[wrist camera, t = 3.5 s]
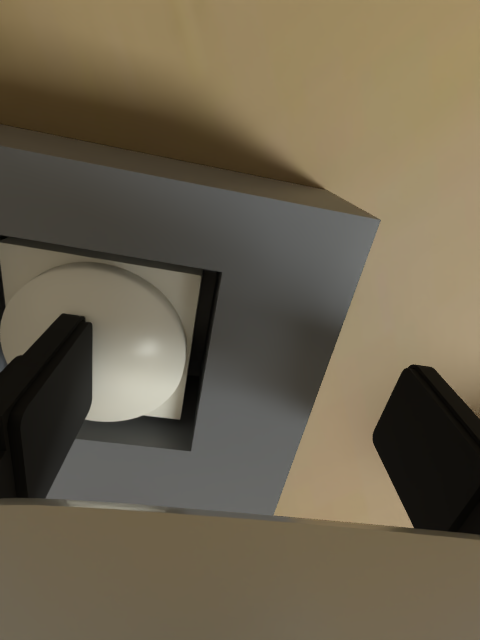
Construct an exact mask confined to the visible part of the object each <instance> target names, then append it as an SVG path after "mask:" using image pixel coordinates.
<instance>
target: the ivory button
mask: <svg viewBox="0 0 480 640" xmlns="http://www.w3.org/2000/svg"><path fill="white" fill-rule="evenodd" d="M0 265H1V273H2V281H3V289H4V298H5V306H6V308H5V310H4V313H3V316H2V319H1V325H0V342H1V347H2V351H3V354H4V357H5V359H6V362H7V364H9V363H10V362H11V361H12V360H13V359H14V358H15V357H17V356H19V355H23V354H24V353H25V352H26V351H27V350H28V349H29V348H30V347H31V346H32V345H33V344H34V342H35V341H36V340H37V339H38V338H39V337H40V336H41V335H42V334H43V333H44V332H45V331H46V330H47V329H48V328H49V326H50V325H51V324H52V323H53V322H54V321H55V320H56V319H57V318H58V317H59V316H60V315H61V314H62V313H65V314H72V315H79V316H84V317H85V318H86V322H91V323H92V328H93V342H92V404H91V407H90V410H89V412H88V414H87V416H86V418H85V420H91V421H101V422H116V421H124V420H129V419H133V418H137V417H140V416H142V415H145V416H153V417H161V418H170V419H178V420H180V418H181V412H182V406H183V400H184V393H185V387H186V381H187V375H188V369H189V362H190V355H191V349H192V342H193V335H194V328H195V322H196V315H197V308H198V302H199V295H200V288H201V282H202V275H203V269H201V268H195V267H189V266H183V265H177V264H171V263H165V262H159V261H153V260H147V259H141V258H135V257H129V256H123V255H117V254H111V253H105V252H99V251H94V250H88V249H82V248H76V247H70V246H64V245H58V244H52V243H46V242H40V241H34V240H28V239H22V238H16V237H10V236H9V237H7V238H5V239H3V240H1V241H0Z"/></svg>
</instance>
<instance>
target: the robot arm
mask: <svg viewBox="0 0 480 640" xmlns="http://www.w3.org/2000/svg"><path fill="white" fill-rule="evenodd" d="M92 342H93V328H92V323H91V322H86V318H85V317H84V316H79V315H72V314H65V313H62V314H61V315H60V316H59V317H58V318H57V319H56V320H55V321H54V322H53V323H52V324H51V325H50V326H49V328H48V329H47V330H46V331H45V332H44V333H43V334H42V335H41V336H40V337H39V338H38V339H37V340H36V341H35V342H34V344H33V345H32V346H31V347H30V348H29V349H28V350H27V351H26V352H25V353H24V354H23V355H19V356H17V357H15V358H14V359H13V360H12V361H11V362H10V363H9V364H8V365H7V366H6V367H5V368H4V369H3V370H2V371H1V372H0V640H480V419H479V418H478V417H477V416H476V415H475V414H474V412H473V411H472V410H471V409H470V408H469V407H468V406H467V405H466V404H465V402H464V401H463V400H462V399H461V398H460V397H459V396H458V395H457V394H456V392H455V391H454V390H453V389H452V388H451V387H450V386H449V385H448V384H447V383H446V381H445V380H444V379H443V378H442V377H441V376H440V375H439V374H438V373H437V371H436V370H435V369H434V368H432V367H428V366H421V365H414V364H413V365H410V366H409V367H408V368H406V369H404V370H403V371H402V373H401V375H400V377H399V379H398V381H397V384H396V386H395V388H394V390H393V392H392V394H391V396H390V398H389V400H388V402H387V405H386V407H385V409H384V411H383V413H382V415H381V417H380V419H379V421H378V423H377V426H376V428H375V430H374V432H373V443H374V446H375V448H376V450H377V452H378V454H379V456H380V458H381V460H382V462H383V464H384V467H385V469H386V471H387V473H388V475H389V477H390V479H391V481H392V483H393V485H394V487H395V489H396V491H397V493H398V496H399V498H400V500H401V502H402V504H403V506H404V508H405V510H406V512H407V514H408V516H409V518H410V520H411V522H412V524H413V527H414V528H405V527H394V526H384V525H373V524H362V523H351V522H340V521H329V520H318V519H306V518H295V517H284V516H272V515H261V514H249V513H238V512H225V511H213V510H201V509H189V508H177V507H165V506H153V505H141V504H127V503H112V502H97V501H82V500H67V499H45V498H46V496H47V494H48V492H49V490H50V488H51V486H52V484H53V482H54V480H55V478H56V476H57V474H58V472H59V470H60V468H61V466H62V464H63V462H64V460H65V458H66V456H67V454H68V452H69V450H70V448H71V446H72V444H73V442H74V440H75V438H76V436H77V434H78V432H79V430H80V428H81V426H82V424H83V422H84V420H85V418H86V416H87V414H88V412H89V410H90V407H91V404H92Z"/></svg>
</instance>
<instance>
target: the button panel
mask: <svg viewBox="0 0 480 640" xmlns="http://www.w3.org/2000/svg"><path fill="white" fill-rule="evenodd" d="M380 221H381V220H380V219H378V218H376V217H374V216H373V215H371V214H369V213H367V212H365V211H364V210H362V209H360V208H358V207H356V206H355V205H353V204H351V203H349V202H347V201H346V200H344V199H342V198H340V197H338V196H337V195H335V194H333V193H331V192H329V191H328V190H324V189H319V188H314V187H309V186H304V185H299V184H294V183H289V182H284V181H279V180H274V179H269V178H264V177H259V176H254V175H250V174H245V173H240V172H235V171H230V170H225V169H220V168H215V167H210V166H205V165H200V164H195V163H190V162H185V161H180V160H175V159H170V158H165V157H160V156H155V155H150V154H146V153H141V152H136V151H131V150H126V149H121V148H116V147H111V146H106V145H101V144H96V143H91V142H86V141H81V140H76V139H71V138H66V137H61V136H56V135H51V134H46V133H41V132H37V131H32V130H27V129H22V128H17V127H12V126H7V125H2V124H0V241H1V240H3V239H5V238H7V237H9V236H10V237H16V238H22V239H28V240H34V241H40V242H46V243H52V244H58V245H64V246H70V247H76V248H82V249H88V250H94V251H99V252H105V253H111V254H117V255H123V256H129V257H135V258H141V259H147V260H153V261H159V262H165V263H171V264H177V265H183V266H189V267H195V268H201V269H203V275H202V282H201V288H200V295H199V302H198V308H197V315H196V322H195V328H194V335H193V342H192V349H191V355H190V362H189V369H188V375H187V381H186V387H185V393H184V400H183V406H182V412H181V418H180V420H178V419H170V418H161V417H153V416H145V415H142V416H140V417H137V418H133V419H129V420H124V421H116V422H101V421H91V420H84V422H83V424H82V426H81V428H80V430H79V432H78V434H77V436H76V438H75V440H74V442H73V444H72V446H71V448H70V450H69V452H68V454H67V456H66V458H65V460H64V462H63V464H62V466H61V468H60V470H59V472H58V474H57V476H56V478H55V480H54V482H53V484H52V486H51V488H50V490H49V492H48V494H47V496H46V498H45V499H67V500H82V501H97V502H112V503H127V504H141V505H153V506H165V507H177V508H189V509H201V510H213V511H225V512H238V513H249V514H261V515H272V516H273V515H274V512H275V509H276V506H277V504H278V501H279V498H280V495H281V493H282V490H283V487H284V484H285V482H286V479H287V476H288V473H289V471H290V468H291V465H292V462H293V460H294V457H295V454H296V451H297V449H298V446H299V443H300V440H301V438H302V435H303V432H304V429H305V427H306V424H307V421H308V418H309V416H310V413H311V410H312V408H313V405H314V402H315V399H316V397H317V394H318V391H319V388H320V386H321V383H322V380H323V377H324V375H325V372H326V369H327V366H328V364H329V361H330V358H331V355H332V353H333V350H334V347H335V344H336V342H337V339H338V336H339V333H340V331H341V328H342V325H343V322H344V320H345V317H346V314H347V311H348V309H349V306H350V303H351V300H352V298H353V295H354V292H355V289H356V287H357V284H358V281H359V278H360V276H361V273H362V270H363V267H364V265H365V262H366V259H367V256H368V254H369V251H370V248H371V245H372V243H373V240H374V237H375V234H376V232H377V229H378V226H379V223H380ZM5 308H6V306H5V298H4V289H3V281H2V273H1V265H0V325H1V319H2V316H3V313H4V310H5ZM7 365H8V364H7V362H6V359H5V357H4V354H3V351H2V347H1V342H0V372H1V371H2V370H3V369H4V368H5V367H6V366H7Z"/></svg>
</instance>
